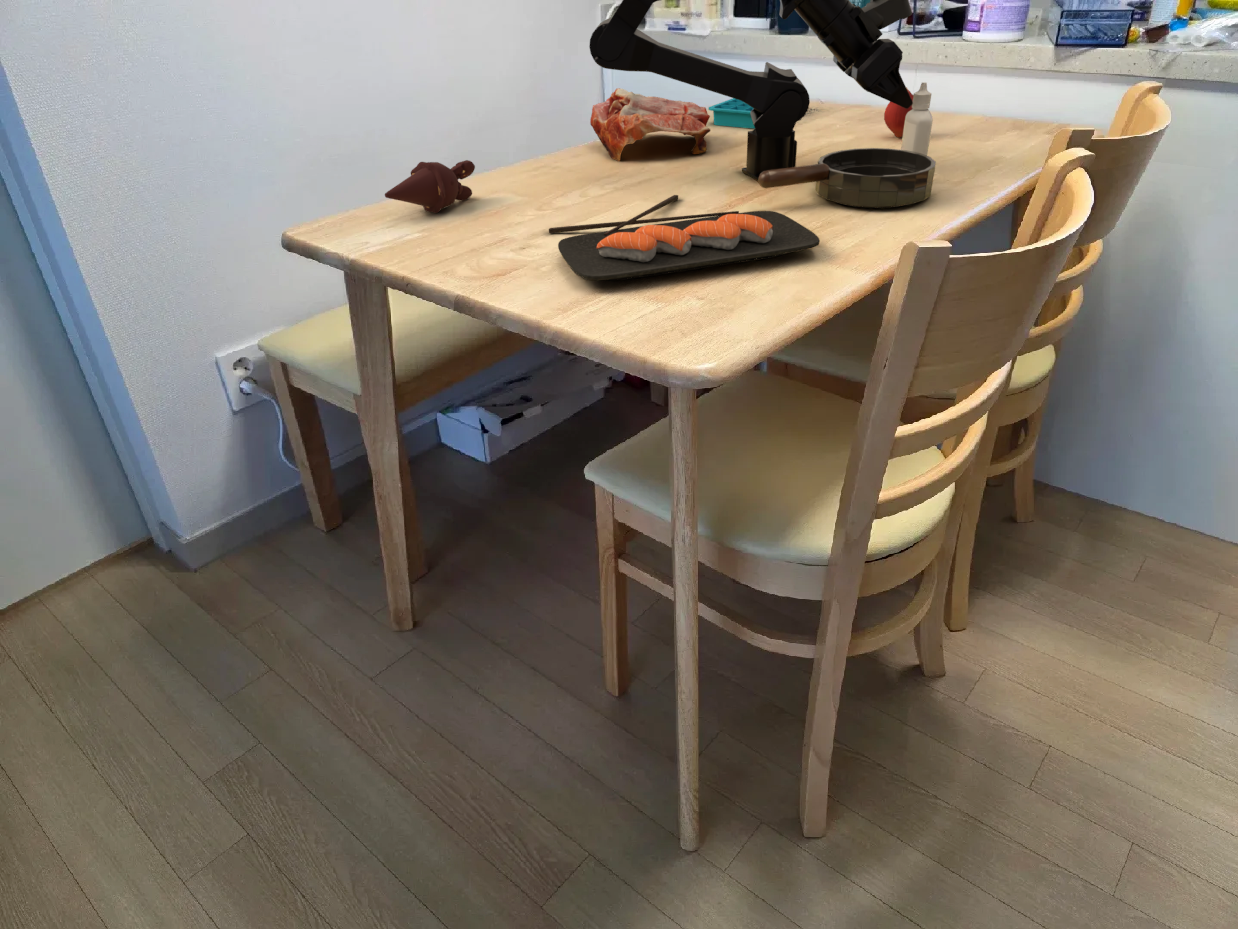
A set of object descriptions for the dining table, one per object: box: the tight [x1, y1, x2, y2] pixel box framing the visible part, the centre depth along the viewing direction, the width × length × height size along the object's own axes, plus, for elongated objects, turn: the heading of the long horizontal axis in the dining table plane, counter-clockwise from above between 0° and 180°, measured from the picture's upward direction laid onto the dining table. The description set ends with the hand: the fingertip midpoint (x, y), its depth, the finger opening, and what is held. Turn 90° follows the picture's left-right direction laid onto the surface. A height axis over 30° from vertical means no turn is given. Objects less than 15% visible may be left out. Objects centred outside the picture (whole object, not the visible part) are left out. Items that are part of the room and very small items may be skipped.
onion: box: [883, 87, 914, 139], centre depth 139 cm, size 6×6×8 cm
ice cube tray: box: [708, 98, 755, 130], centre depth 159 cm, size 12×20×3 cm, turn 145°
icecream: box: [384, 159, 476, 214], centre depth 115 cm, size 7×7×15 cm
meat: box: [589, 87, 711, 162], centre depth 140 cm, size 21×21×10 cm
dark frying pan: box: [815, 147, 937, 209], centre depth 112 cm, size 15×15×4 cm
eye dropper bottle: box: [900, 81, 934, 156], centre depth 120 cm, size 4×6×12 cm
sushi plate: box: [548, 194, 821, 281], centre depth 102 cm, size 29×30×4 cm
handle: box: [757, 163, 830, 189], centre depth 109 cm, size 10×2×2 cm, turn 107°
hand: (901, 99), depth 118 cm, fingers open, 9 cm apart
